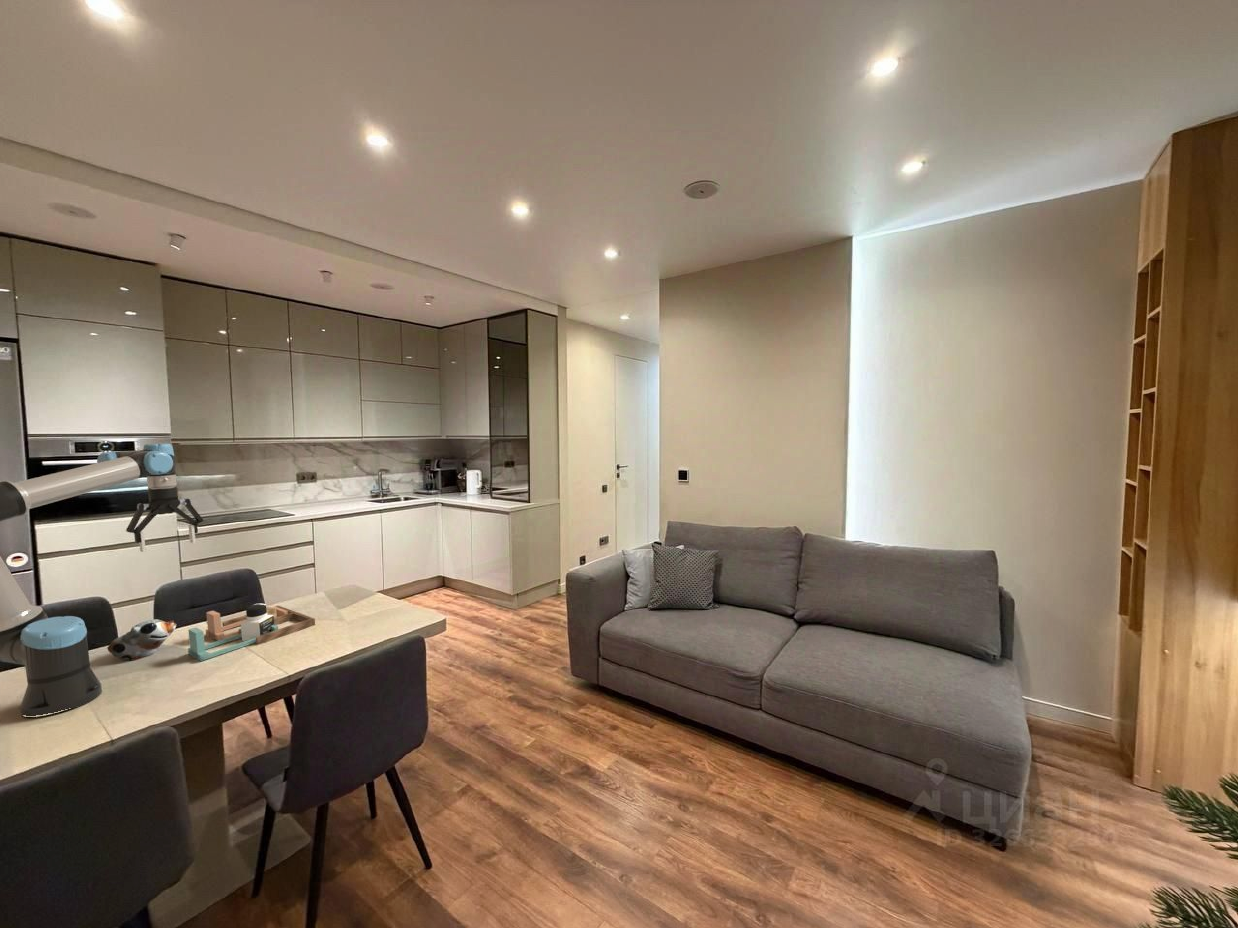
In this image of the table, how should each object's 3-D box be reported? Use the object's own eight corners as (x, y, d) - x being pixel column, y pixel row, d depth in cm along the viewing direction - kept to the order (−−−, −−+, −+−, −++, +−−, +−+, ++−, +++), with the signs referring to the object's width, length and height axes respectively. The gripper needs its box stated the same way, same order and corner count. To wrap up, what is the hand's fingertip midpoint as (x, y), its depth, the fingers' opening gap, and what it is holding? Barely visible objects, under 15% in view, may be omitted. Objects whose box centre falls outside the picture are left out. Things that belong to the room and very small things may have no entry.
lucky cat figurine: (151, 641, 176) (170, 606, 177) (169, 659, 172) (189, 623, 173) (98, 648, 162) (119, 609, 163) (116, 667, 158) (138, 628, 159)
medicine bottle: (261, 641, 176) (258, 608, 174) (241, 641, 176) (238, 609, 175) (275, 632, 183) (272, 601, 182) (256, 632, 183) (254, 601, 182)
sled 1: (218, 640, 176) (215, 616, 175) (206, 634, 181) (203, 611, 180) (288, 618, 195) (286, 596, 194) (275, 613, 200) (273, 592, 200)
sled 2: (200, 660, 161) (198, 634, 160) (188, 653, 166) (185, 628, 165) (278, 634, 180) (276, 610, 179) (265, 628, 185) (263, 605, 185)
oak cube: (264, 625, 190) (263, 612, 190) (255, 623, 192) (254, 610, 191) (277, 620, 195) (276, 607, 194) (268, 618, 196) (267, 606, 196)
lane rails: (258, 644, 173) (257, 637, 172) (222, 628, 187) (222, 622, 187) (315, 624, 189) (314, 618, 189) (278, 611, 204) (278, 605, 203)
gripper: (116, 492, 159) (123, 556, 161) (210, 483, 180) (216, 540, 182) (109, 491, 163) (116, 553, 165) (202, 482, 184) (207, 538, 186)
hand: (168, 546), depth 174 cm, fingers open, 13 cm apart
